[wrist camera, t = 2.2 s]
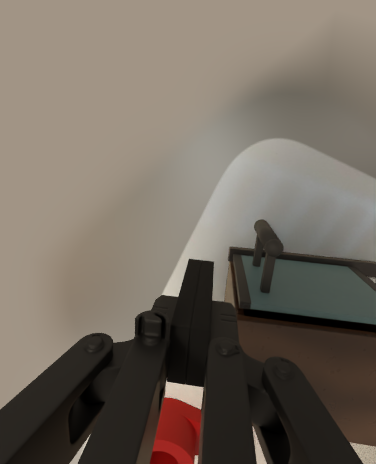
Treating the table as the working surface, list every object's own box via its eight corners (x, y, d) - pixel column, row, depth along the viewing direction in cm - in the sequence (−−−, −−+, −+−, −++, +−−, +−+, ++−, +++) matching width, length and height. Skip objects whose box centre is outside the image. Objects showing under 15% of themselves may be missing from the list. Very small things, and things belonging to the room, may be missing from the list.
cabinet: (229, 246, 35) (235, 301, 22) (424, 266, 33) (558, 341, 20) (218, 331, 39) (218, 421, 26) (392, 354, 37) (486, 464, 24)
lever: (139, 432, 46) (127, 476, 40) (145, 392, 44) (133, 432, 37) (241, 457, 45) (244, 506, 39) (254, 417, 42) (260, 463, 36)
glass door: (238, 213, 32) (248, 243, 21) (367, 225, 31) (447, 264, 20) (232, 258, 34) (239, 308, 23) (354, 272, 33) (421, 331, 22)
